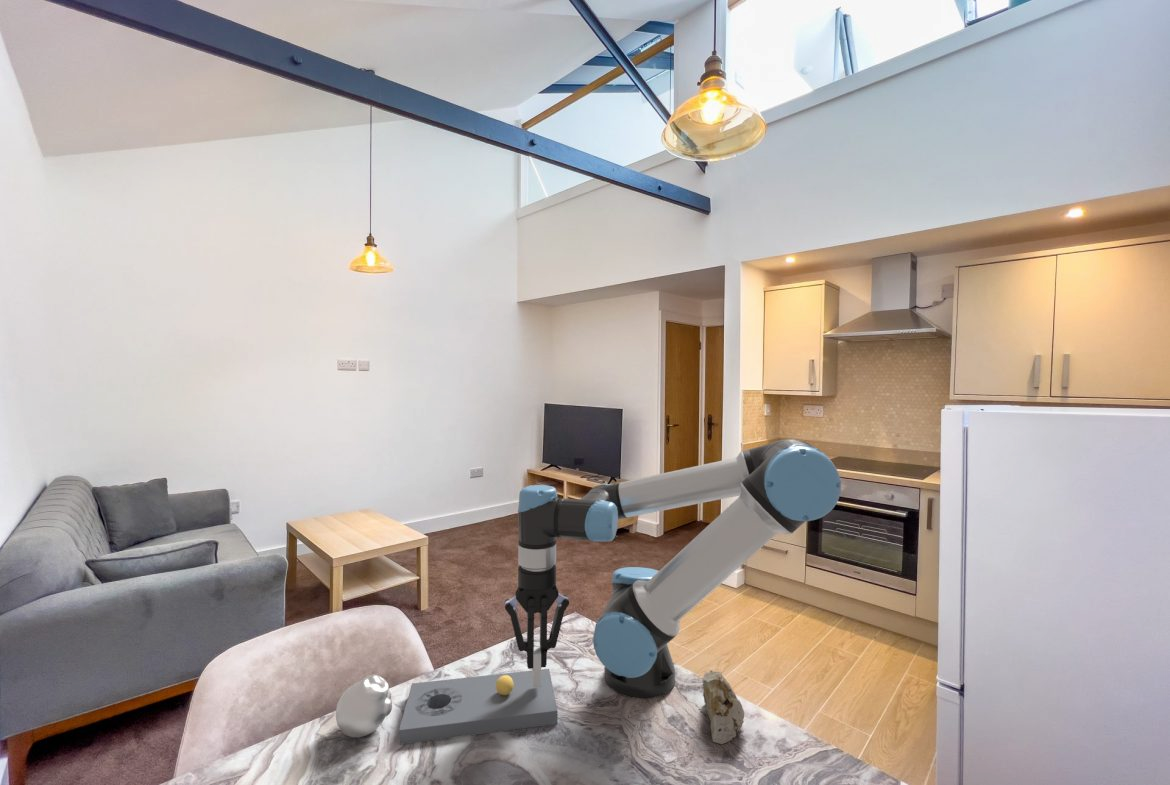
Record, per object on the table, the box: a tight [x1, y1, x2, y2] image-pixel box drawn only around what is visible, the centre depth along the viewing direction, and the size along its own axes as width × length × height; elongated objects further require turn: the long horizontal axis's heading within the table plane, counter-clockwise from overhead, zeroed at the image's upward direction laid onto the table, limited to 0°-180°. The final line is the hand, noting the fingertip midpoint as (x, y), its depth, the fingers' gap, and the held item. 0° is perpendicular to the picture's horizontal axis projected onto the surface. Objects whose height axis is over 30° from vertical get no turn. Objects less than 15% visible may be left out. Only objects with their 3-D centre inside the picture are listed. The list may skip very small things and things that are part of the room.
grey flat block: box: [398, 668, 559, 745], centre depth 97 cm, size 28×14×2 cm, turn 101°
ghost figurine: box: [335, 674, 393, 738], centre depth 90 cm, size 9×10×10 cm
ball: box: [496, 675, 514, 695], centre depth 97 cm, size 3×3×3 cm
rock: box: [702, 669, 745, 745], centre depth 93 cm, size 12×7×10 cm, turn 171°
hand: (536, 682), depth 99 cm, fingers closed
